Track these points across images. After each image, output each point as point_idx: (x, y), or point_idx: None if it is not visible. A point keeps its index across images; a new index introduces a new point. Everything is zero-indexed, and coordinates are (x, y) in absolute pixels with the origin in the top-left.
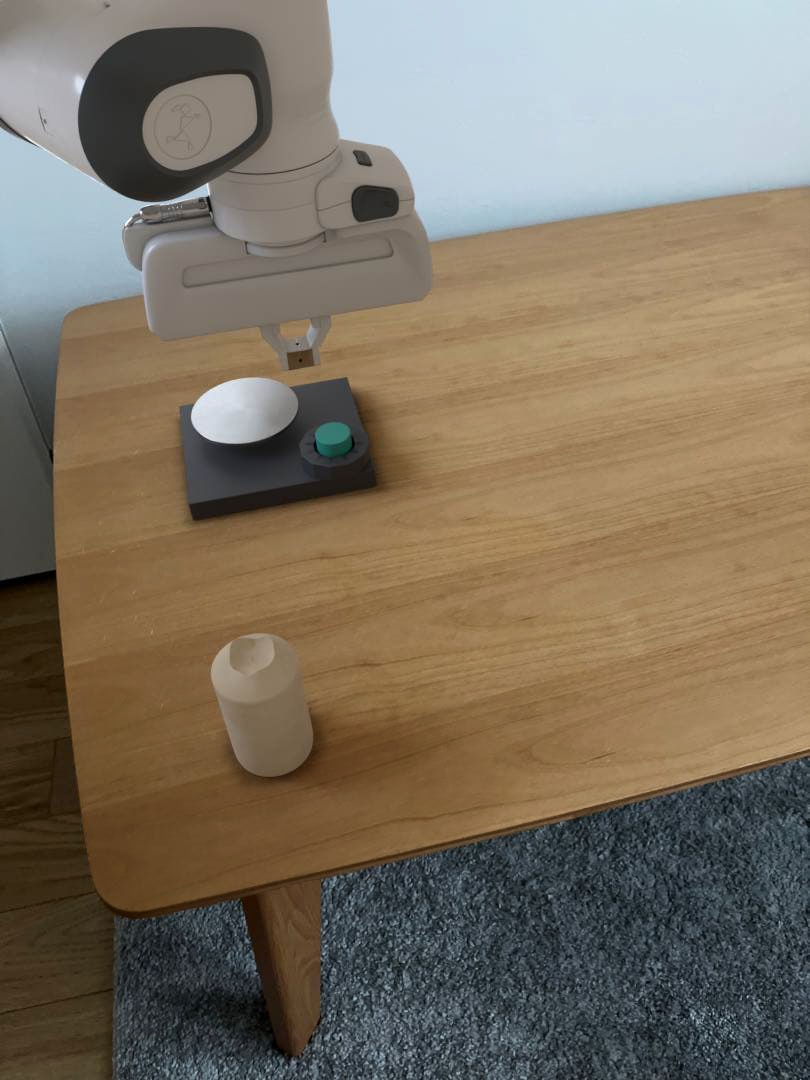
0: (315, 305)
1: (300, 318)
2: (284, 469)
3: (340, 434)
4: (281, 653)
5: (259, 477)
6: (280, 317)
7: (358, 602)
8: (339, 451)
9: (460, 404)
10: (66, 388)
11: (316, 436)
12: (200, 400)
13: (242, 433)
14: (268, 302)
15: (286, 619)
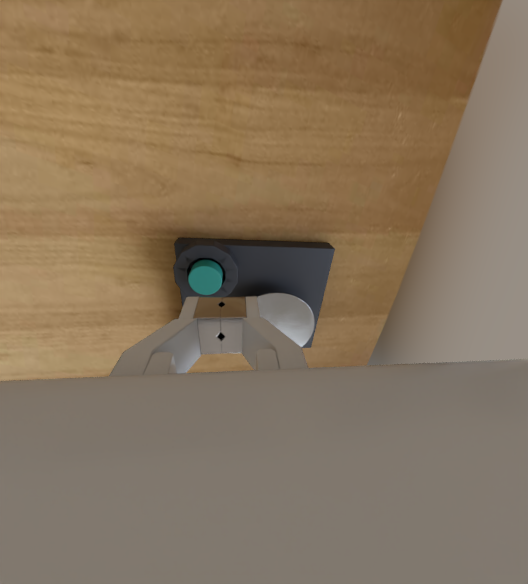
0: (116, 418)
1: (194, 376)
2: (253, 266)
3: (198, 277)
4: None
5: (274, 263)
6: (259, 386)
7: (213, 72)
8: (202, 261)
9: (98, 312)
10: None
11: (221, 280)
12: (301, 344)
13: (281, 304)
14: (308, 455)
15: (288, 77)
